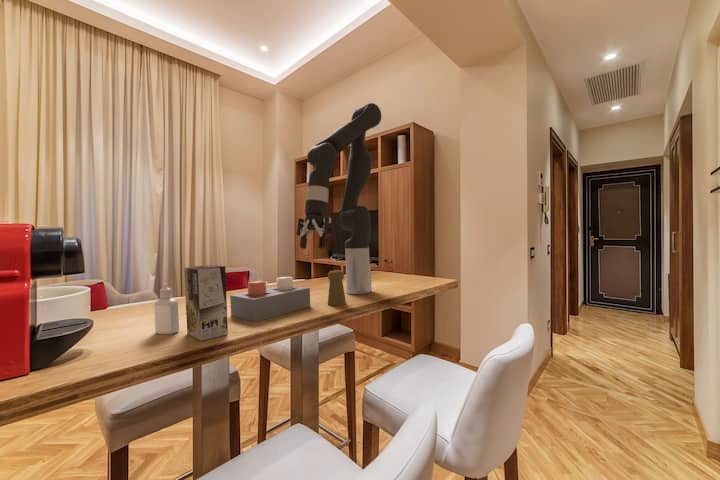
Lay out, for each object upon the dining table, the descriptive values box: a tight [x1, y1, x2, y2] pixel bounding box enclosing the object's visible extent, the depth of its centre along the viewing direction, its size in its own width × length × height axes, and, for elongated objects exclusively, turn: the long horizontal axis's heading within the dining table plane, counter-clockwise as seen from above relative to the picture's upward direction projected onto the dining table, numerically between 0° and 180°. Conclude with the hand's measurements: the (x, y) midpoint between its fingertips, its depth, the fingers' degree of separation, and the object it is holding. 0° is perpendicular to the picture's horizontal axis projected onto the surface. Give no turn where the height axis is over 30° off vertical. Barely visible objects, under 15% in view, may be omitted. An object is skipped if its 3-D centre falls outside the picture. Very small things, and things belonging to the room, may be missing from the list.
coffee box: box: [183, 264, 229, 342], centre depth 72 cm, size 9×6×16 cm
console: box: [229, 285, 311, 323], centre depth 93 cm, size 20×12×6 cm, turn 142°
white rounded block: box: [276, 276, 294, 291], centre depth 97 cm, size 5×5×6 cm
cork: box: [327, 269, 347, 307], centre depth 99 cm, size 6×6×11 cm
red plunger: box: [247, 280, 267, 297], centre depth 89 cm, size 5×5×6 cm
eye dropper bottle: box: [153, 283, 180, 335], centre depth 75 cm, size 4×6×12 cm
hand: (311, 248), depth 102 cm, fingers open, 8 cm apart
